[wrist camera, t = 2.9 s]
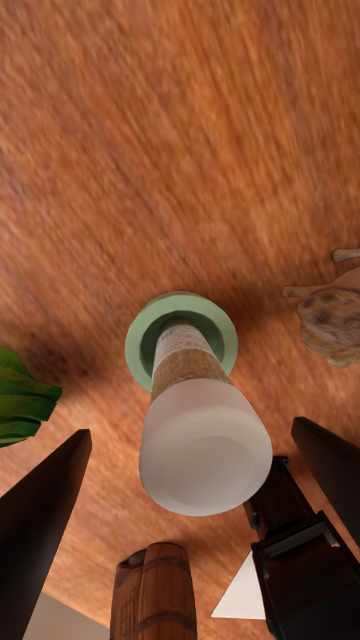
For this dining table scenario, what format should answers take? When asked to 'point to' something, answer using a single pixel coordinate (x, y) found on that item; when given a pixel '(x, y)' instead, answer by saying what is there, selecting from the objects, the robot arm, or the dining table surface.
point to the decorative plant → (22, 400)
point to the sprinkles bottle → (199, 430)
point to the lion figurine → (332, 315)
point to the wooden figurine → (154, 596)
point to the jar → (174, 304)
